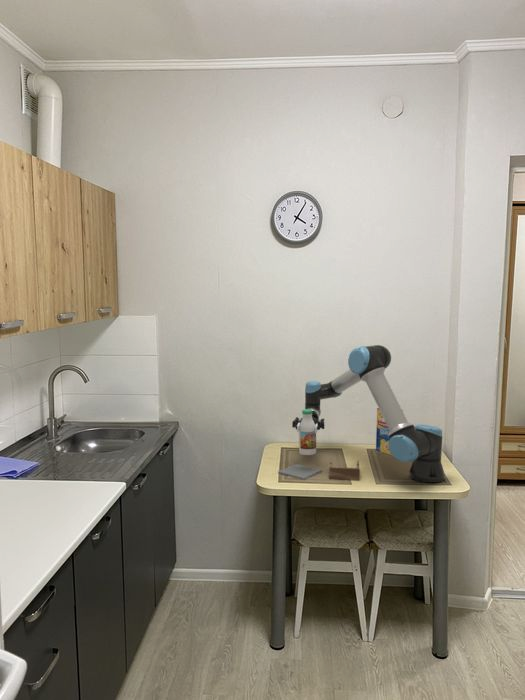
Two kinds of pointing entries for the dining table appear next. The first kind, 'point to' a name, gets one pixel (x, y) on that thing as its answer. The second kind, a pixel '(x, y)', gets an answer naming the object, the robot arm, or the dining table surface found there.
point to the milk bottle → (307, 434)
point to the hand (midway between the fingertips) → (306, 429)
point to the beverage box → (382, 434)
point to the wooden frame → (343, 472)
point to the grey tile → (299, 471)
